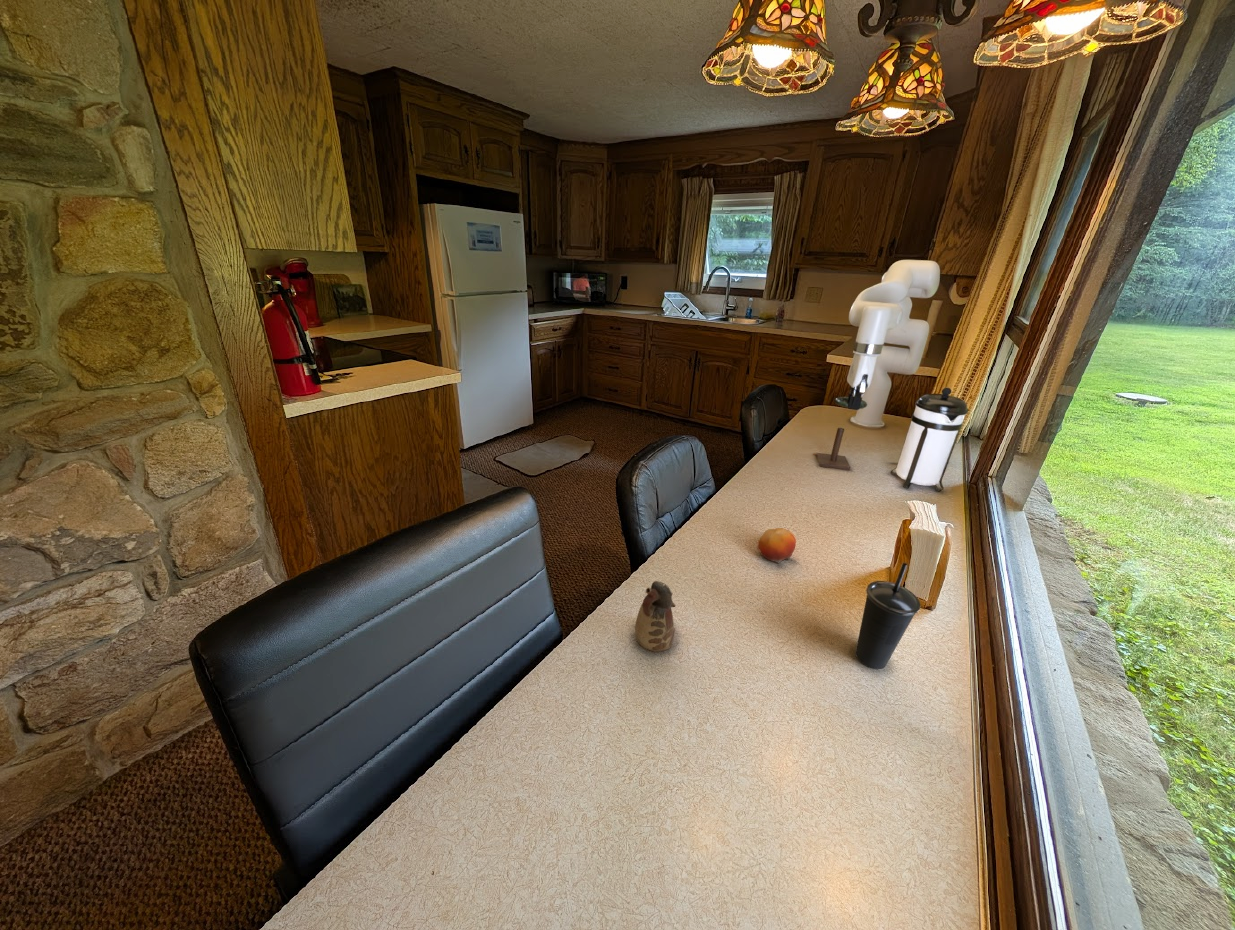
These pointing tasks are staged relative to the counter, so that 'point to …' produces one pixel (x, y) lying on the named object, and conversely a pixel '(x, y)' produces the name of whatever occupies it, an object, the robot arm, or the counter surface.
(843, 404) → the ring
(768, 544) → the fruit
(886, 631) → the drinking cup
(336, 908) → the counter surface
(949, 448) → the coffee press
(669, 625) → the figurine
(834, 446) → the brown peg stand
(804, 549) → the counter surface
